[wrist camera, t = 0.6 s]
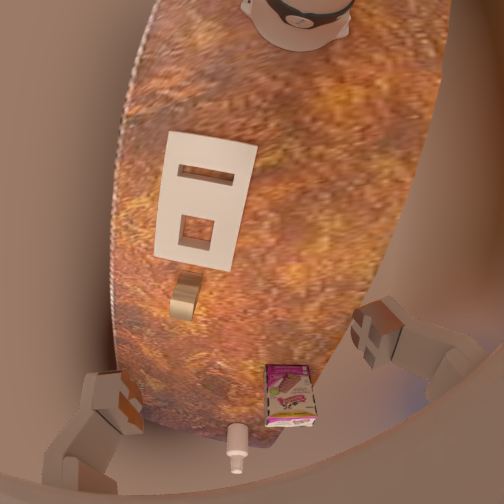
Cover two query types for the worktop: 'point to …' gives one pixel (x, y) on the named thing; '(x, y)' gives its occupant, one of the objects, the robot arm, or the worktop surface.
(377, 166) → the worktop surface
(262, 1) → the robot arm
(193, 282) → the square peg
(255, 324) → the worktop surface
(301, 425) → the candy bar box
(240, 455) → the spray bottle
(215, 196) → the socket board
